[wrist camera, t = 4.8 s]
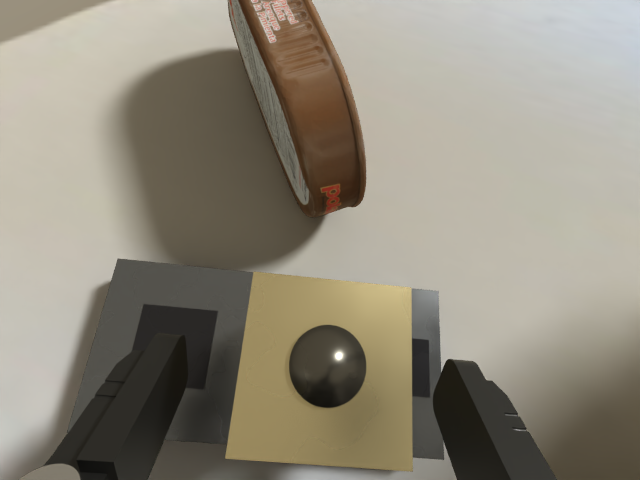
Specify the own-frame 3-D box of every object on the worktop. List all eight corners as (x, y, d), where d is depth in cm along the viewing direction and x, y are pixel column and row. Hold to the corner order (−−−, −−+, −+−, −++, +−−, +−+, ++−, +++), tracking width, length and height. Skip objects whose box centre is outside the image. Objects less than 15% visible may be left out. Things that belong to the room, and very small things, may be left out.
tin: (352, 228, 19) (400, 139, 11) (300, 245, 18) (309, 164, 10) (270, 35, 23) (261, -135, 15) (225, 43, 22) (190, -128, 14)
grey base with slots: (422, 297, 18) (438, 290, 16) (424, 446, 16) (444, 460, 14) (137, 268, 17) (117, 258, 15) (95, 421, 15) (65, 433, 13)
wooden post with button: (343, 316, 17) (413, 274, 8) (338, 406, 16) (414, 491, 6) (274, 309, 17) (255, 257, 7) (262, 400, 16) (220, 479, 6)
